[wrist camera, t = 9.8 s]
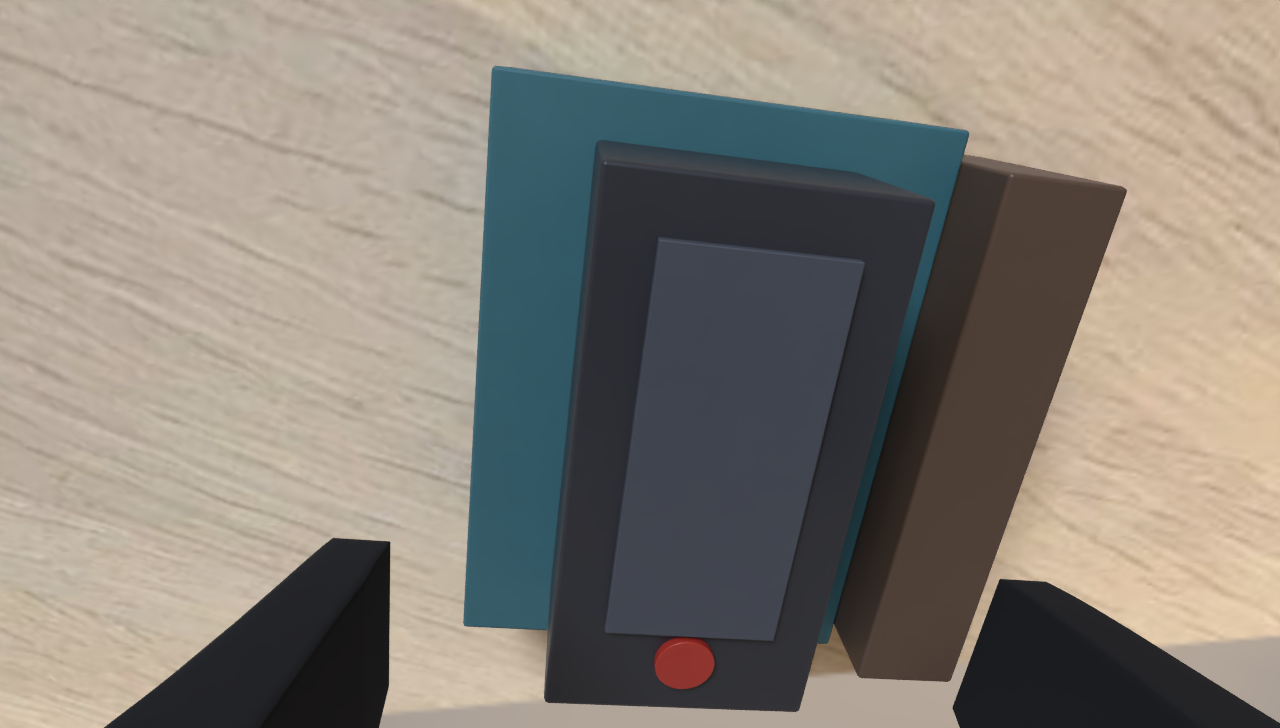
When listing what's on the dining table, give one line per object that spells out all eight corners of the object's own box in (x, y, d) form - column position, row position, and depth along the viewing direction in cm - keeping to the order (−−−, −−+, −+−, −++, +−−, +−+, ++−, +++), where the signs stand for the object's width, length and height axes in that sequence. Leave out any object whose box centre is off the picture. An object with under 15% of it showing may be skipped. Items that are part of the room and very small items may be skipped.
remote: (760, 600, 16) (802, 721, 13) (550, 589, 15) (543, 712, 12) (859, 172, 12) (944, 202, 10) (595, 138, 12) (601, 160, 9)
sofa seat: (480, 542, 18) (451, 682, 14) (509, 67, 14) (479, 64, 10) (865, 566, 19) (944, 702, 15) (989, 133, 15) (1142, 154, 11)
